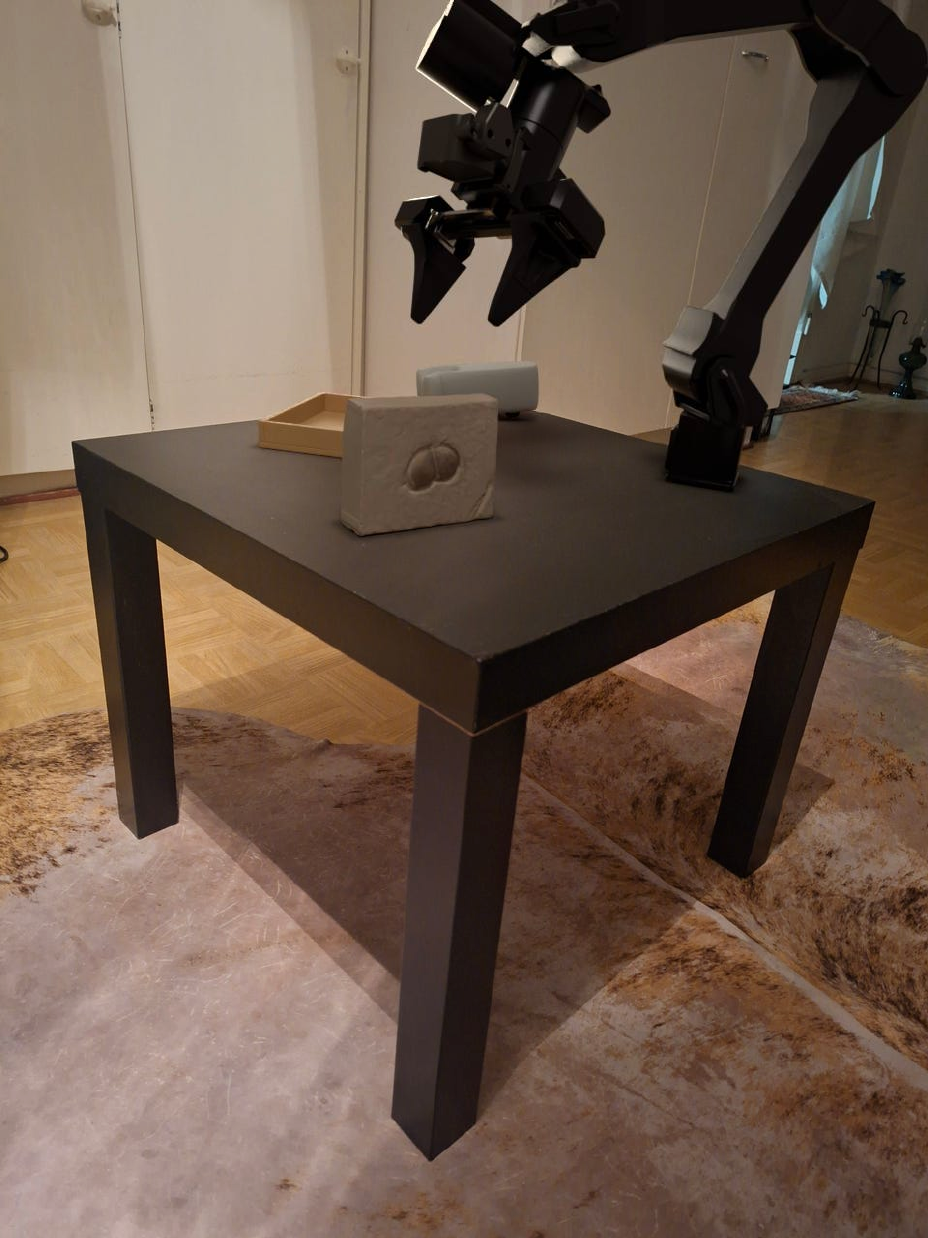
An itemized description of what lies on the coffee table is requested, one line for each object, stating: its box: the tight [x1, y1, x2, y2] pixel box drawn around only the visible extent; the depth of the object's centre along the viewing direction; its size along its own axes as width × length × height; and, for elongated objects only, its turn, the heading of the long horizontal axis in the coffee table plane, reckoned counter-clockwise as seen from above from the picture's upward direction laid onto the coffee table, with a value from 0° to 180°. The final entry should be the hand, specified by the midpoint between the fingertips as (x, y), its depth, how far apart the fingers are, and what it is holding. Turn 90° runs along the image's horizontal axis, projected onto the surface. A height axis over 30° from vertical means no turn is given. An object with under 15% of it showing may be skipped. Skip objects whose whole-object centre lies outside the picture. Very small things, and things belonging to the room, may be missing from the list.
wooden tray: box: [257, 391, 372, 459], centre depth 88 cm, size 19×17×3 cm
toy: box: [415, 360, 540, 420], centre depth 101 cm, size 12×6×15 cm
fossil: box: [339, 393, 499, 537], centre depth 64 cm, size 12×4×10 cm, turn 123°
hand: (452, 322), depth 66 cm, fingers open, 9 cm apart
